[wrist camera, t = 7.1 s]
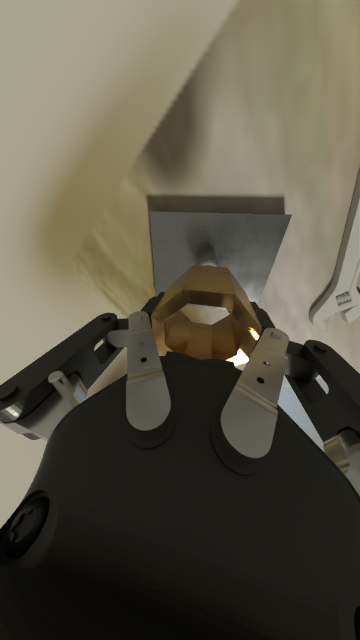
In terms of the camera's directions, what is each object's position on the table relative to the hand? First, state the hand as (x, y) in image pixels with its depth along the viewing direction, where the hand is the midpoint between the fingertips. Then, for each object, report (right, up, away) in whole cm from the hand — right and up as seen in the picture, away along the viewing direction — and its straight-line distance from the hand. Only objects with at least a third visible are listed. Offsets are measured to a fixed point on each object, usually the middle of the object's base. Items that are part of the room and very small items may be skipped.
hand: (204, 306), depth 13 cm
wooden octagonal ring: (0, 0, +1) cm, 1 cm away
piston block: (+3, +8, +12) cm, 14 cm away
